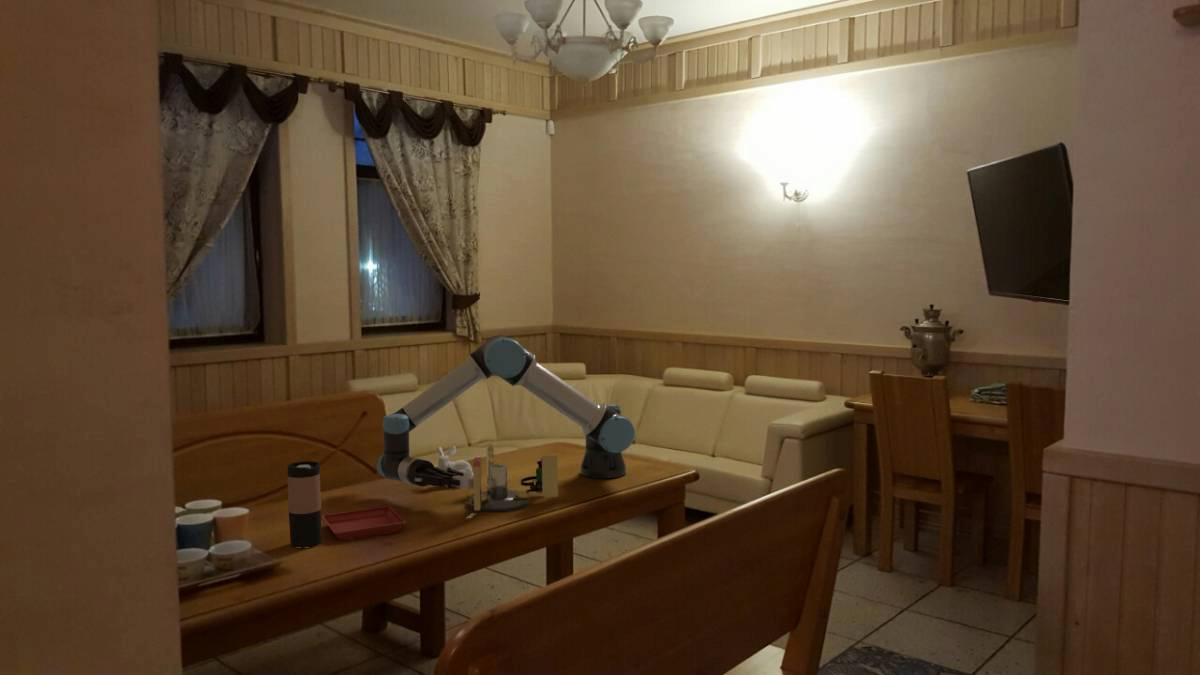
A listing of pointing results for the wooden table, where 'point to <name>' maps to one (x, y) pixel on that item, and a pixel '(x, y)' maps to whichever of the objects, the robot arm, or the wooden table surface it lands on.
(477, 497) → the beige u-shaped piece
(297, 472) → the travel mug
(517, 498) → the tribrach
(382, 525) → the plant saucer
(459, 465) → the rabbit
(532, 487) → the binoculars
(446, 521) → the wooden table surface
